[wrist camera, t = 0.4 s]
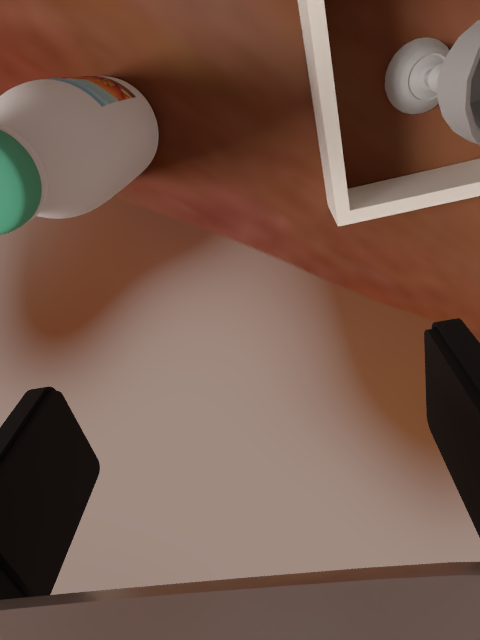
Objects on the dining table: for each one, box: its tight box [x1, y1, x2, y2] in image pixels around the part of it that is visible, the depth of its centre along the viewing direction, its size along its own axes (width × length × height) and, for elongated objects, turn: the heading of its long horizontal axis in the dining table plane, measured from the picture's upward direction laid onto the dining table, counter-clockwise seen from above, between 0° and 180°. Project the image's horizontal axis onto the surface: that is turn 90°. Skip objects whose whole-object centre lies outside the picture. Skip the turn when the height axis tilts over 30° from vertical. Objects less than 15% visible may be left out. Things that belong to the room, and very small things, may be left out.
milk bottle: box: [0, 76, 159, 235], centre depth 27 cm, size 8×8×20 cm
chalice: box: [385, 20, 480, 146], centre depth 25 cm, size 7×7×18 cm
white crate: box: [298, 0, 480, 227], centre depth 30 cm, size 16×16×6 cm
